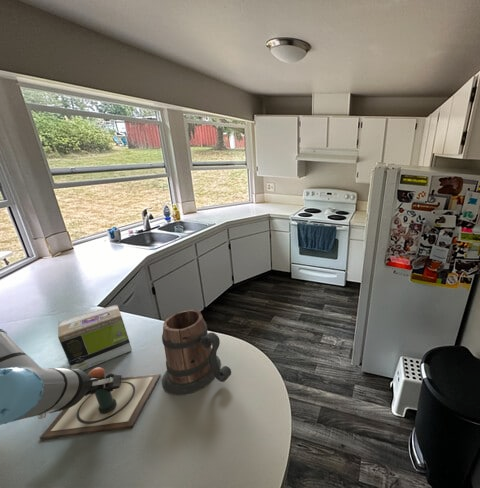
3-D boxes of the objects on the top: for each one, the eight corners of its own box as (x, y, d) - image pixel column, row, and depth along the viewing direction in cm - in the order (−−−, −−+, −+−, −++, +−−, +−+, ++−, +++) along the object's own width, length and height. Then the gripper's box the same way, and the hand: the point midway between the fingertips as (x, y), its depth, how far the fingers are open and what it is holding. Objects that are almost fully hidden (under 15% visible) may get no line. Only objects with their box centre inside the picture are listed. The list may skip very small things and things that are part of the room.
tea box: (127, 336, 94) (117, 303, 89) (132, 351, 87) (122, 315, 82) (72, 357, 84) (57, 320, 79) (72, 375, 77) (57, 336, 72)
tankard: (148, 383, 75) (133, 329, 69) (194, 346, 90) (185, 298, 84) (208, 412, 68) (199, 354, 61) (248, 366, 83) (243, 315, 76)
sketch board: (40, 440, 60) (38, 436, 60) (87, 383, 75) (86, 380, 74) (132, 427, 63) (131, 424, 63) (160, 375, 78) (160, 372, 78)
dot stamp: (95, 415, 64) (81, 376, 60) (104, 402, 68) (91, 364, 63) (111, 413, 65) (98, 374, 61) (119, 400, 68) (107, 363, 64)
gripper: (-7, 427, 44) (70, 410, 64) (104, 399, 50) (144, 391, 70) (4, 381, 47) (75, 378, 67) (108, 359, 53) (145, 362, 73)
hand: (110, 384), depth 68 cm, fingers closed on dot stamp, 3 cm apart
